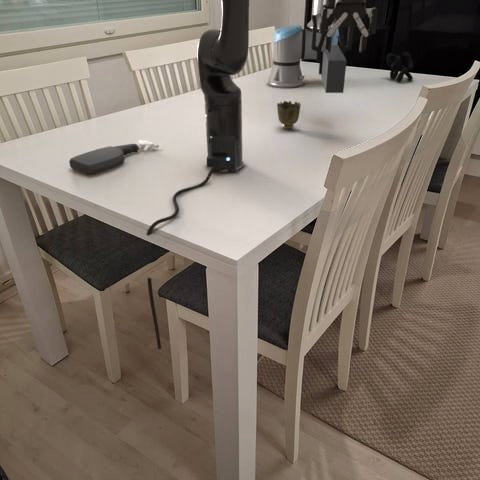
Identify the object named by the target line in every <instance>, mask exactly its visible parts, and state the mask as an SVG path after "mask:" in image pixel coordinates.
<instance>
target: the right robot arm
mask: <svg viewBox="0 0 480 480" xmlns="http://www.w3.org/2000/svg"><path fill="white" fill-rule="evenodd" d="M334 6H335V0H312V7H311V20H310V21H309V22H308V23H307V25H306V28H303V27H302V25H300V24H293V25H286V26H281V27H278V28H276V29H275V30H274V32H273V40H272V43H273V51H272V53H273V55H272V56H273V57H272V68H271V70H270V75H269V78H268V85H269V87H270V86H271V87H272V88H273V87H274V88H280V89H291V88H299V87H301V86H303V85H304V80H305V75H303V74H302V73H303V72H302V68H301V60H315V61H316V63H317V64H319V65H318V75H321V74H322V62H323V51H322V47H323V45H325V39H326V36H325V35H323V34H321V33H320V32H319V27H320V20H321V12H322V9H323V8H326V9H333V8H334ZM334 21H335V17H334V16H333V14H332V13H331V14H330V16H329V18H327V19H326V26H325V30H328V29H329V28H330V26H331V25H332V23H333V22H334ZM354 28H355V27H350V26H348V29H347V40H346V45H345V37H344V30H343V27H341V26H339V27H338V28H337V29H336V30H335V31H334V33H333V34H332V35H331V37H332V41H331V45H338V42H339V48H340V50H341V51H342V53H343V55H344V57H345V56H346V52H347V51H350V50H352V48H353V36H354ZM345 58H346V57H345Z"/></svg>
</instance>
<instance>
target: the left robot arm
mask: <svg viewBox="0 0 480 480" xmlns="http://www.w3.org/2000/svg"><path fill="white" fill-rule="evenodd" d="M220 2H221V23H220V24H221V25H220V29H217V28H216V29H213V28H212V29H208V30H205V32H203V33H202V34H201V36H200V37H199V39H198V42H197V49H196V57H197V58H196V61H197V69H198V78H199V85H200V90H201V92H202V94H203V99H204V100H203V101H204V116H205V117H204V118H205V133H206V134H205V135H206V151H207V152H206V153H207V156H206V168H208V169H209V172H208V174H207V176H206V178H204V180H203V181H202V182H200V183H199V184H197V185H193V186H191V187H185V188H182V189H179V190H178V191H176V192H175V193H174V195H173V196H172V203H173V206H174V209H175V210H174V212H173V213H172V214H171V215H169V216H165V217H162V218H160V219H157V220H155V221H154V222H152V224H151V225H150V226H149V228H148V229H147V231H146V236H151V234H152V232H153V230H154V229H155V228H156V227H157V226H158V225H160V224H162V223H164V222H167V221H171V220H173V219H175V218H176V217H177V216H178V214H179V212H180V207H179V204H178V201H177V198H178V196H180V195H181V194H183V193H185V192H189V191H192V190H195V189H198V188H200V187H204V186H205V185H206V184H207V183H208V182H209V180H210V178H211V176H212V174H213V173H237V171H239V170H240V169H242V168H243V166H244V160H243V114H242V113H243V109H242V108H243V106H242V105H243V104H242V103H243V102H242V101H243V100H242V99H243V98H242V96H243V95H242V89H241V88H240V87H239V86H238V85H237V84H236V82H234V81H233V79H232V77H231V76H235V75H238V74H240V73H241V72H242V71H243V69H244V68H245V66H246V63H247V59H248V55H249V43H250V41H249V39H250V38H249V37H250V36H249V35H250V22H249V21H250V0H220ZM366 2H367V0H335V6H334V8H333V9H326V8H323V9H322V12H321V20H320V27H319V32H320V33H321V34H323V35H325V36H326V39H325V49H326V50H327V52H331V41H332V37H331V35H332V34H333V33H334V31H335V30H336V29H338V27H339V26H341V27H342V28H347V27H349V26H350V27H354V28H355V27H357V29H358V30H359V32H360V33H361V36H360V39H359V40H360V41H359V47H358V48H359V49H358V52H359V53H364V51H365V50H366V49H367V44H368V38H369V36H372V35H375V34H376V32H377V23H378V8H376V7H372V8H367V7H366ZM331 13H332V14H333V16H334V17H335V21H334V22H333V23H332V25H331V26H330V28H329V29H328V30H325V26H326V19H327V18H329V16H330V14H331ZM366 14H367V17H368V18H369V28H368V29H367V28H366V26H365V24H364V22H363V21H362V19H364V17H365V16H366ZM147 287H148V297H149V303H150V309H151V313H152V314H151V315H152V319H153V326H154V331H155V337H156V345H157V349H158V350H161V349H162V343H161V336H160V331H159V330H160V329H159V324H158V317H157V312H156V307H155V300H154V293H153V283H152V278H151V277H147Z"/></svg>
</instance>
